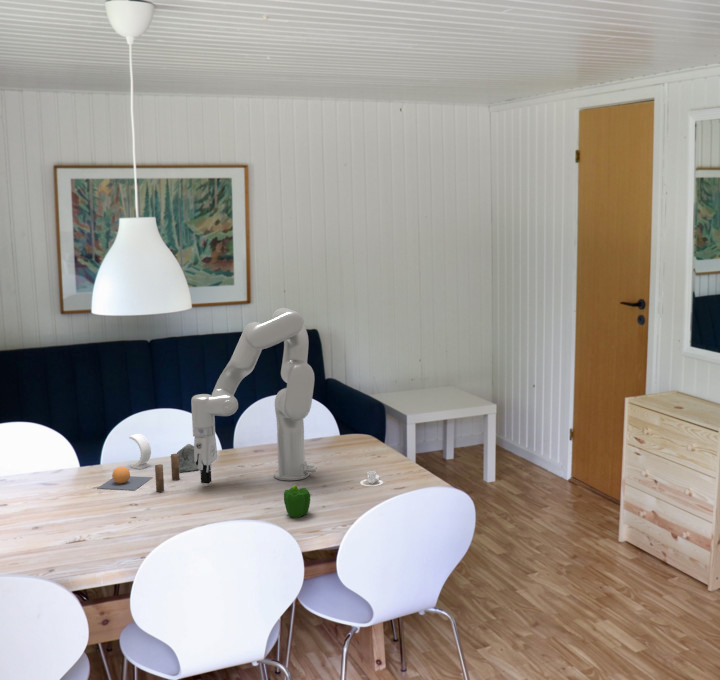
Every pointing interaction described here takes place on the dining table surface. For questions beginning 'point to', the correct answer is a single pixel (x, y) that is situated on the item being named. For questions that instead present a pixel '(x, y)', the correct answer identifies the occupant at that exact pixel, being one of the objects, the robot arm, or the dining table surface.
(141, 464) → the headphone stand
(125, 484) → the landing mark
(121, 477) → the ball
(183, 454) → the stone
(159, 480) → the post left
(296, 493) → the bell pepper
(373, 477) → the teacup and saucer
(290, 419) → the robot arm
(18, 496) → the dining table surface
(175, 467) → the post right
